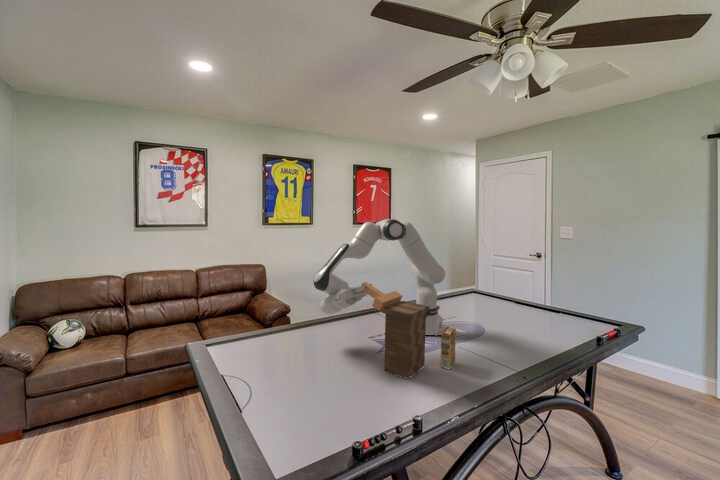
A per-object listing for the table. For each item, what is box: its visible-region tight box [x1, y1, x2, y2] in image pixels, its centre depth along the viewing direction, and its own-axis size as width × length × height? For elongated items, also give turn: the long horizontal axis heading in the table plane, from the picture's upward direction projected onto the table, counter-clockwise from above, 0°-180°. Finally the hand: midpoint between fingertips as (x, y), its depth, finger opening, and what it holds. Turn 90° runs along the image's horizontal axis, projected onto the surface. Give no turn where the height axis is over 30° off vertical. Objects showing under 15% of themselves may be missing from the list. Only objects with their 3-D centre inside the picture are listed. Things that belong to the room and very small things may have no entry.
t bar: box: [360, 281, 403, 312], centre depth 145 cm, size 16×16×4 cm
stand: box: [381, 300, 429, 379], centre depth 138 cm, size 16×13×26 cm
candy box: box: [440, 326, 457, 369], centre depth 143 cm, size 9×4×15 cm, turn 150°
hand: (368, 286), depth 148 cm, fingers closed on t bar, 3 cm apart
